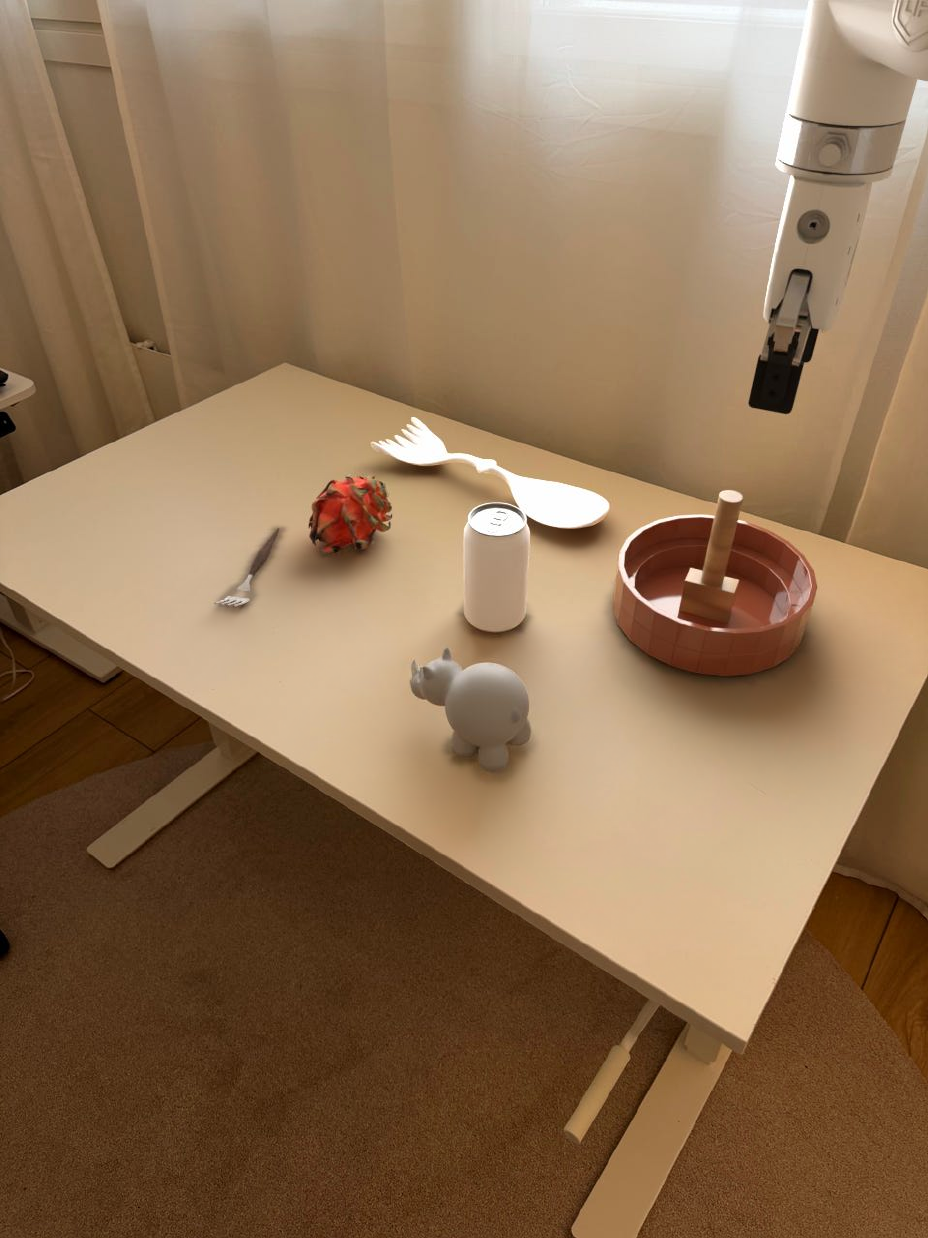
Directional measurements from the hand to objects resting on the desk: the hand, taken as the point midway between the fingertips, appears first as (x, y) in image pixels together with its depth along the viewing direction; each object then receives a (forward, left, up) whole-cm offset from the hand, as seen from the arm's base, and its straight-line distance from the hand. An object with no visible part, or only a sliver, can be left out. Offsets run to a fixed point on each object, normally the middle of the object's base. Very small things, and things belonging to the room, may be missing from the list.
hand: (780, 382), depth 71 cm
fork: (+49, +9, -29) cm, 58 cm away
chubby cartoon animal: (+18, +21, -28) cm, 40 cm away
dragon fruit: (+42, 0, -28) cm, 51 cm away
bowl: (+2, -4, -28) cm, 28 cm away
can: (+22, +5, -28) cm, 36 cm away
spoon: (+32, -17, -28) cm, 46 cm away
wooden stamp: (+2, -4, -28) cm, 28 cm away
